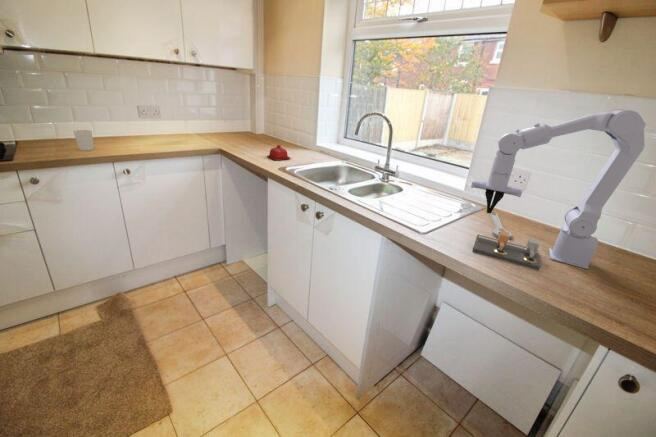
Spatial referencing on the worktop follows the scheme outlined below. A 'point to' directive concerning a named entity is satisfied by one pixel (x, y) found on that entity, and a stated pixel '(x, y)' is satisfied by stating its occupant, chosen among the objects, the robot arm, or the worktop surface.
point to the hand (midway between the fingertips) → (488, 212)
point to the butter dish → (278, 153)
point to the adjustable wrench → (497, 225)
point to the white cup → (84, 139)
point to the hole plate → (510, 251)
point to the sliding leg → (503, 239)
